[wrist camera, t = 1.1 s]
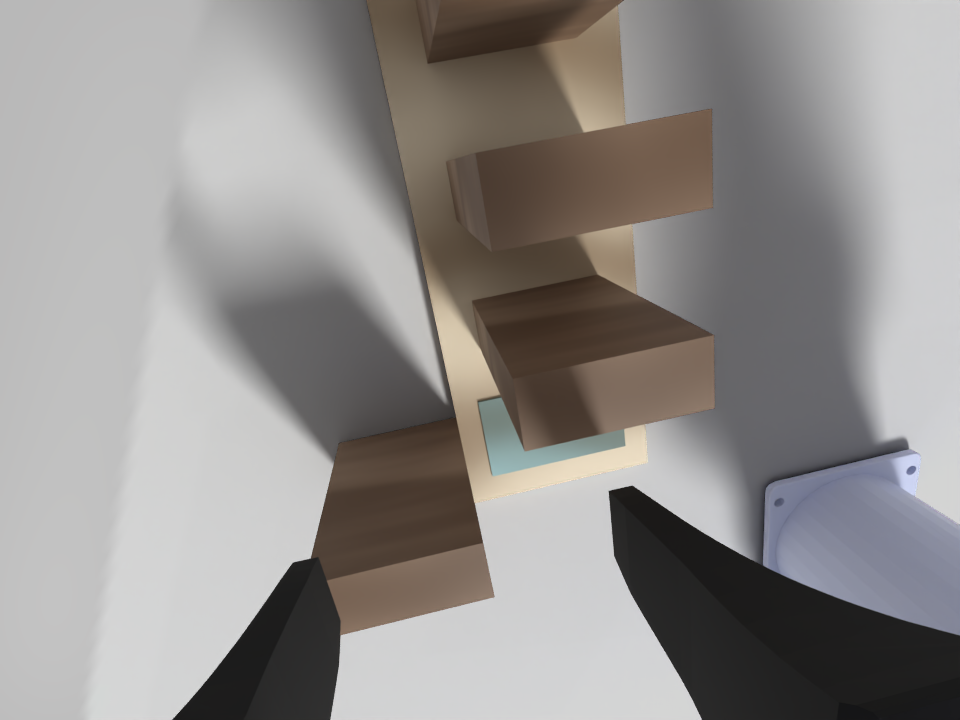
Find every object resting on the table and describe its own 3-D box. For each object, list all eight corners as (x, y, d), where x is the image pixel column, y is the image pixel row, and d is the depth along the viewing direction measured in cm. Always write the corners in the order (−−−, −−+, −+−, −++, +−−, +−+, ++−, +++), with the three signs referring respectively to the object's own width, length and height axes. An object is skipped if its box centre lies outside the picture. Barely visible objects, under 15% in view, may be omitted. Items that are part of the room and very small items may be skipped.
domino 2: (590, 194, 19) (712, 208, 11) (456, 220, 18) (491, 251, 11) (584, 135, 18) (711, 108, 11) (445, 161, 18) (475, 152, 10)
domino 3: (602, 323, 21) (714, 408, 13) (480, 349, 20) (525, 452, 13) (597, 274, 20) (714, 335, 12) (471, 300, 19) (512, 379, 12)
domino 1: (464, 457, 22) (494, 597, 15) (351, 483, 22) (324, 638, 15) (455, 417, 22) (482, 542, 14) (339, 443, 21) (303, 585, 14)
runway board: (642, 456, 24) (648, 463, 23) (473, 495, 23) (474, 504, 23) (605, -72, 17) (613, -82, 16) (359, -32, 16) (357, -41, 15)
